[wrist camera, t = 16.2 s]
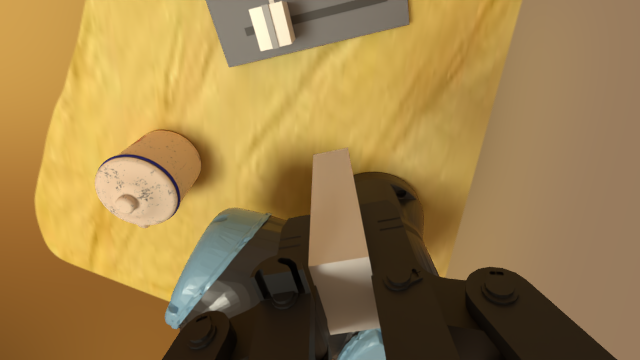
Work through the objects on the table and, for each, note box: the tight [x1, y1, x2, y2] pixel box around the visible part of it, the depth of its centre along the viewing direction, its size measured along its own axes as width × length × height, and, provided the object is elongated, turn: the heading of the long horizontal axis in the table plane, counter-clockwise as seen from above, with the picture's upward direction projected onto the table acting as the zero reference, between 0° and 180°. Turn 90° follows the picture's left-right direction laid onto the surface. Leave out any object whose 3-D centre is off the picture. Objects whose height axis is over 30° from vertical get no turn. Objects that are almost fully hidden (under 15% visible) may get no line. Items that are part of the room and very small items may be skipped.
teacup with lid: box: [95, 130, 201, 228], centre depth 38 cm, size 12×9×12 cm
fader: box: [249, 1, 296, 51], centre depth 30 cm, size 4×3×5 cm
